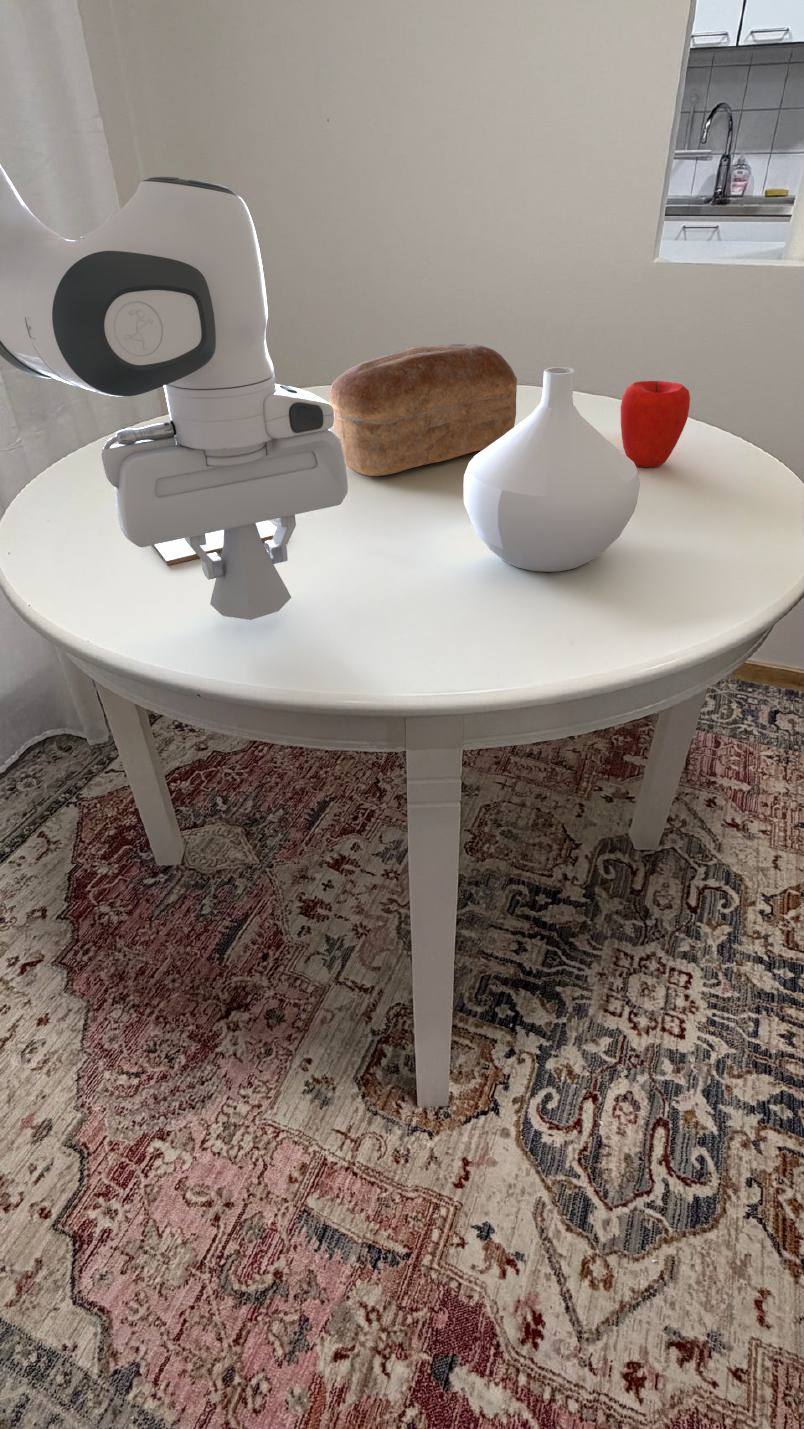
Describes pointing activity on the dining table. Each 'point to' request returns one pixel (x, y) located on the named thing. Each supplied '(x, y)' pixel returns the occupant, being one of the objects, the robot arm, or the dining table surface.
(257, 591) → the flask
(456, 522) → the dining table surface
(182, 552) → the coaster
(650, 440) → the apple
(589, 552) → the vase
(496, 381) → the bread
